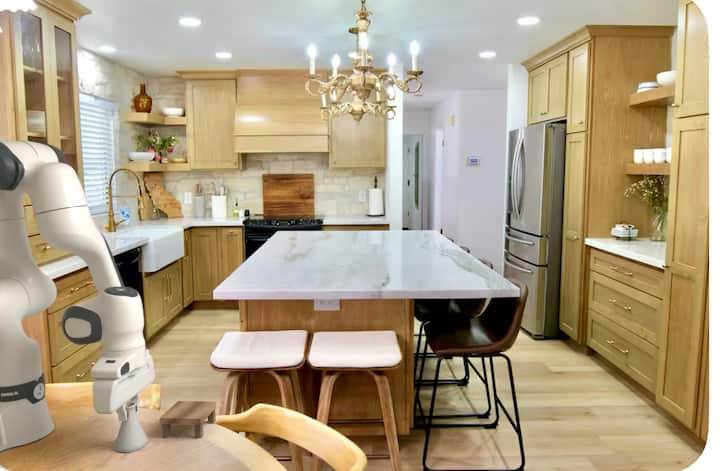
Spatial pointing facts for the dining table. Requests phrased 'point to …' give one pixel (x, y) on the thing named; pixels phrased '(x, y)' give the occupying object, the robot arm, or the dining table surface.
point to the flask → (130, 432)
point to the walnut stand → (188, 416)
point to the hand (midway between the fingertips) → (128, 416)
